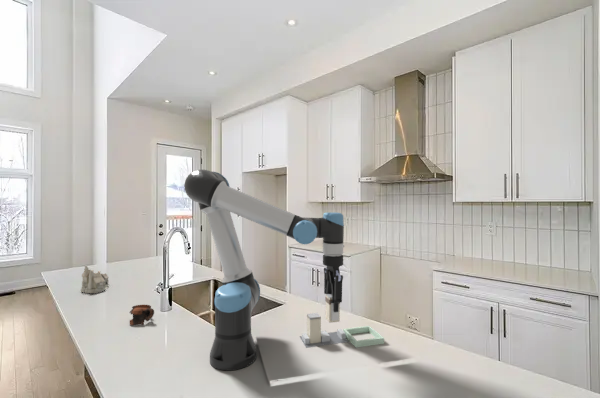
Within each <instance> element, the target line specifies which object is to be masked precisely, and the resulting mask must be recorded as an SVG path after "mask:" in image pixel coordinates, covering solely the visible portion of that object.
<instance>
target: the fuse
mask: <svg viewBox="0 0 600 398" xmlns="http://www.w3.org/2000/svg"><path fill="white" fill-rule="evenodd" d="M321 324H322V317H321V315H320V314H319V313H318V312H312V313H311V312H310V313H306V334H307V335H308V337H309V338H310V343H318V342H321V331H322V325H321Z"/></svg>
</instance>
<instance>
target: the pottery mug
mask: <svg viewBox="0 0 600 398" xmlns="http://www.w3.org/2000/svg"><path fill="white" fill-rule="evenodd" d="M131 308H132V309H131V310H130V311H129V314H130V315H132V319H129V326H134V325H135V326H136V325H137V326H141V325H142V326H143V325H145V321H146V322H150V320H151V319H152V318H153V317H154V315H155V310H154V308H152V305H150V304H136V305H134V306H132V307H131Z"/></svg>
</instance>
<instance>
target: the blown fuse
mask: <svg viewBox="0 0 600 398" xmlns="http://www.w3.org/2000/svg"><path fill="white" fill-rule="evenodd" d="M324 301H325V320H327V322H328V324H329V323H337V322H338V323H340V322H341V321H340V318H341V317H340V316H341V315H340V311H341V310H340V309H341V307H340V306H341V303H339V320H335V321H331V302H330V301H332V294H325V299H324Z"/></svg>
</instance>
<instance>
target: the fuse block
mask: <svg viewBox="0 0 600 398" xmlns="http://www.w3.org/2000/svg"><path fill="white" fill-rule="evenodd" d="M299 338H300V340H301V342H302V343H303V345H304V346H305V348H306V349H307V348H315V347H323V346H328V345H336V344H337V345H338V344H343V343H350V341H349V340H348V339H347V338H346V333H345V332H344V331H343V329H342V328H337V329H336V331H332V332H331V331H330V332H327V331H326V330H321V342H318V343H310V338H309V337H308V335H307V332H304V333H301V335H300V336H299Z"/></svg>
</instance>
